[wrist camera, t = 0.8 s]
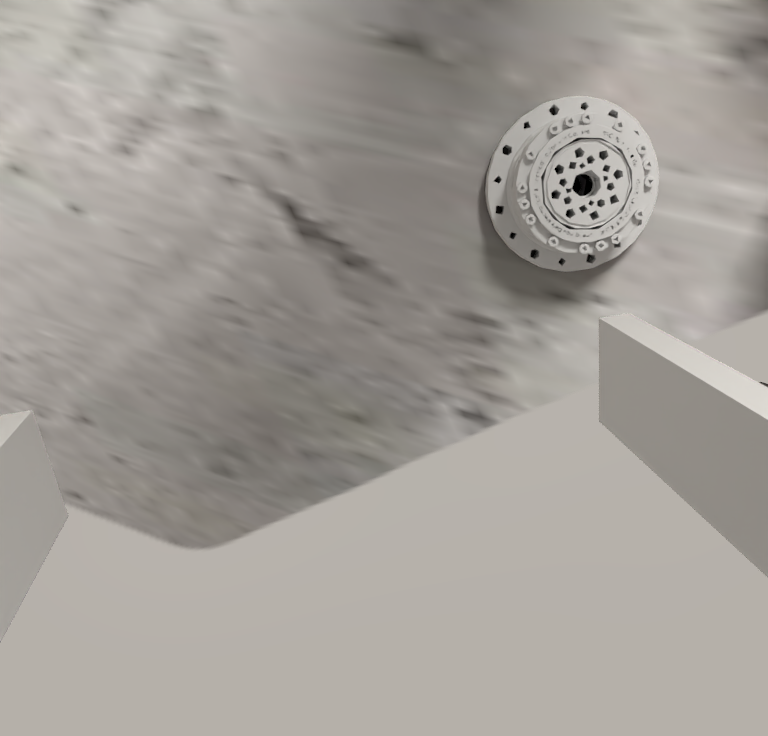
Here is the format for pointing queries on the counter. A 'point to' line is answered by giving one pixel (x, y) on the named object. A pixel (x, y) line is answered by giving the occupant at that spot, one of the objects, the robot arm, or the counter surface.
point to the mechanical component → (539, 179)
